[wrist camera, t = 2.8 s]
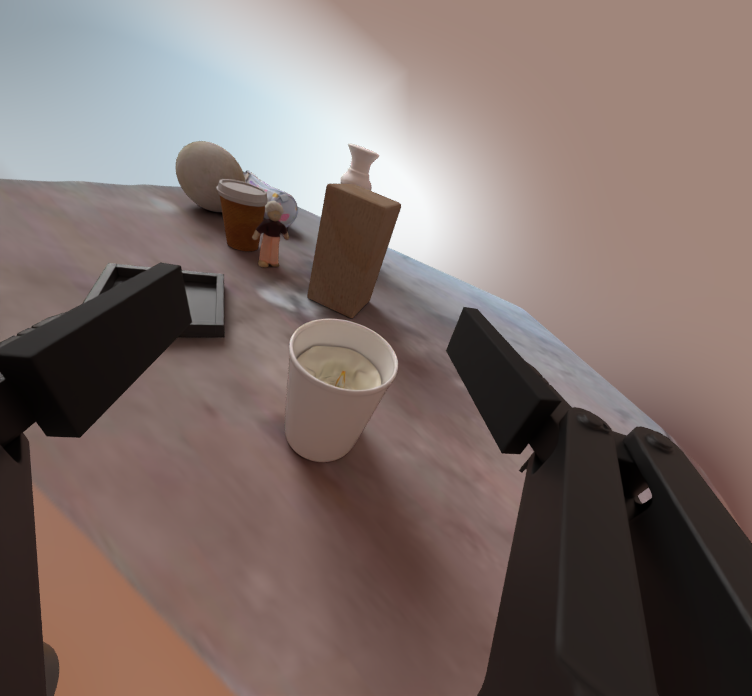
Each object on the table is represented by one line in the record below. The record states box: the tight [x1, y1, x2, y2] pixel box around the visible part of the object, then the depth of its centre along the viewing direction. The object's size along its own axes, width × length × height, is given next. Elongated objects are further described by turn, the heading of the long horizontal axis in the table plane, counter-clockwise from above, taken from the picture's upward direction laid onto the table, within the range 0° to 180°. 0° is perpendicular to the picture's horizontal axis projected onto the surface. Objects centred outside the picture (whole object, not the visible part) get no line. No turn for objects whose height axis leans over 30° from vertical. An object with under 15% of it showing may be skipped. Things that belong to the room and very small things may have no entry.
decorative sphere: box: [176, 141, 246, 212], centre depth 68 cm, size 15×15×15 cm
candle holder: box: [284, 319, 398, 462], centre depth 27 cm, size 10×10×12 cm
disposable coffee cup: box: [216, 179, 269, 251], centre depth 57 cm, size 10×10×12 cm
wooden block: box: [307, 184, 401, 318], centre depth 49 cm, size 10×10×20 cm
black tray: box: [83, 263, 224, 337], centre depth 38 cm, size 14×14×2 cm
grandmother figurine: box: [252, 201, 289, 267], centre depth 54 cm, size 8×4×13 cm, turn 147°
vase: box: [341, 144, 379, 191], centre depth 69 cm, size 11×11×25 cm
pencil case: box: [243, 171, 298, 228], centre depth 78 cm, size 21×9×10 cm, turn 49°
